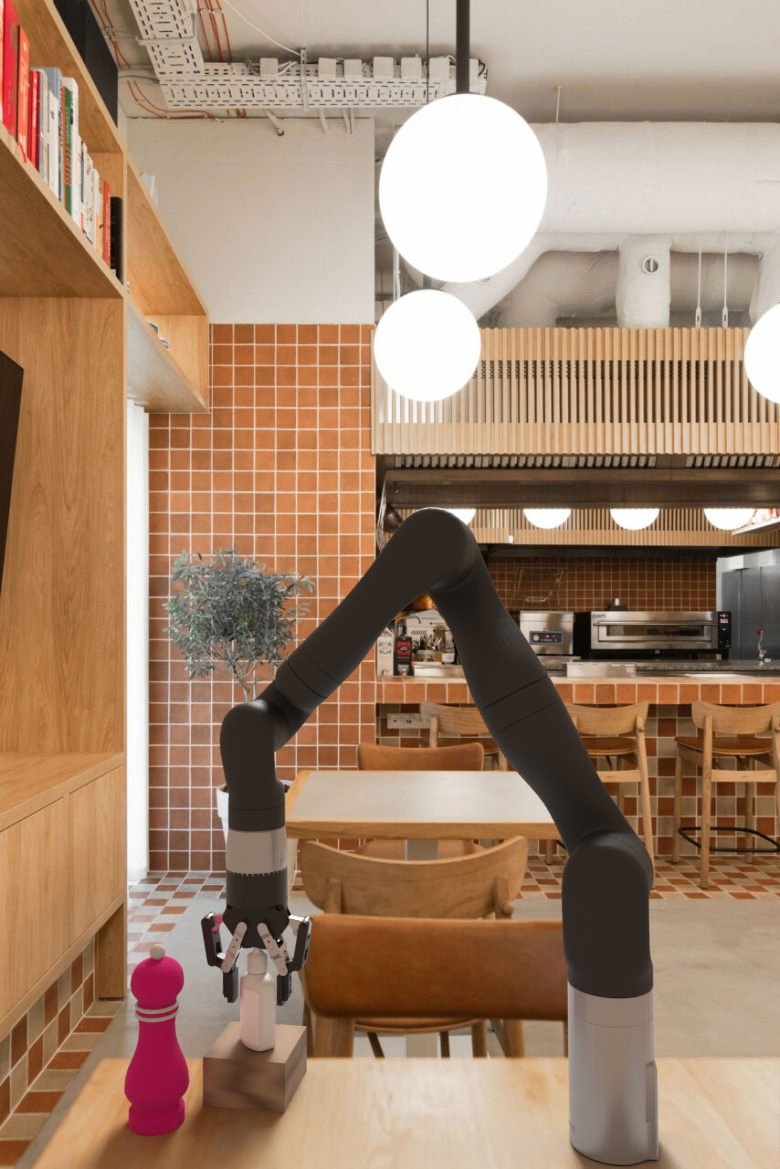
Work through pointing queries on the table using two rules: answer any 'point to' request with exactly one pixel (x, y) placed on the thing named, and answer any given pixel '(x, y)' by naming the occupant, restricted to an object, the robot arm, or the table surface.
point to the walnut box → (254, 1070)
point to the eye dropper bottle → (257, 1004)
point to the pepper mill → (157, 1048)
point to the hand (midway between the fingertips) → (257, 1001)
